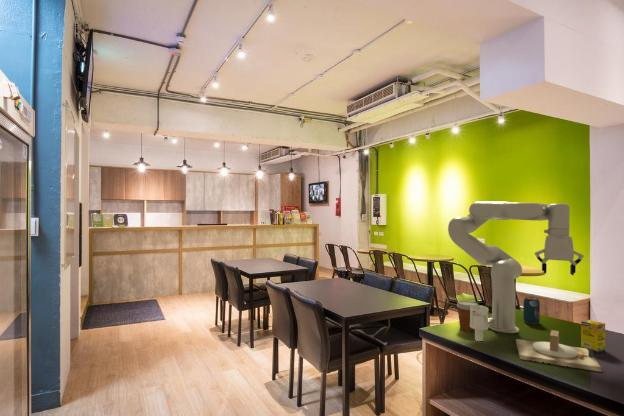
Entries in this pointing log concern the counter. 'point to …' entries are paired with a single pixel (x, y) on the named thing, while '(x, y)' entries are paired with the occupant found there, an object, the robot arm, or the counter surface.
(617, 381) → the counter surface
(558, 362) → the level stand
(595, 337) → the supplement box
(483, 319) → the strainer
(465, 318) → the disposable coffee cup
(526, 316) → the soda can
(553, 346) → the dial
